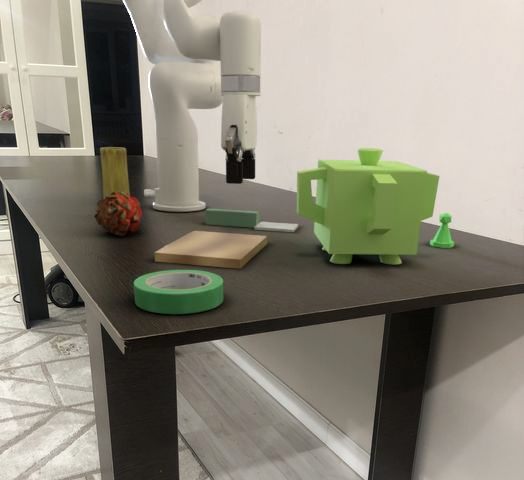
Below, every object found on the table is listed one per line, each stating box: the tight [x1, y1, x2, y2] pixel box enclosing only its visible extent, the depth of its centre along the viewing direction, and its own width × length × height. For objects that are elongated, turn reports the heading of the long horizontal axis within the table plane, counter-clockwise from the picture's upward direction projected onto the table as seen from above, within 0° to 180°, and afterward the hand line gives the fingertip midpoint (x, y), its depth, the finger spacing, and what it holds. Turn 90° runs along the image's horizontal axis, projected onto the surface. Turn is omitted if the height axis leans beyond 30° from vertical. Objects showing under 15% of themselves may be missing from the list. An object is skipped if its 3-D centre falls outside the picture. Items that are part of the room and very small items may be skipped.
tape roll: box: [133, 269, 224, 315], centre depth 71 cm, size 11×11×3 cm
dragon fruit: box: [94, 191, 143, 236], centre depth 107 cm, size 8×8×12 cm
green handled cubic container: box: [296, 147, 440, 265], centre depth 92 cm, size 25×23×17 cm
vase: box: [99, 146, 131, 199], centre depth 120 cm, size 6×6×14 cm
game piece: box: [429, 212, 455, 249], centre depth 103 cm, size 4×4×6 cm
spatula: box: [204, 207, 299, 233], centre depth 116 cm, size 19×6×3 cm, turn 76°
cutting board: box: [154, 230, 268, 270], centre depth 95 cm, size 14×18×2 cm
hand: (241, 181), depth 113 cm, fingers open, 9 cm apart
